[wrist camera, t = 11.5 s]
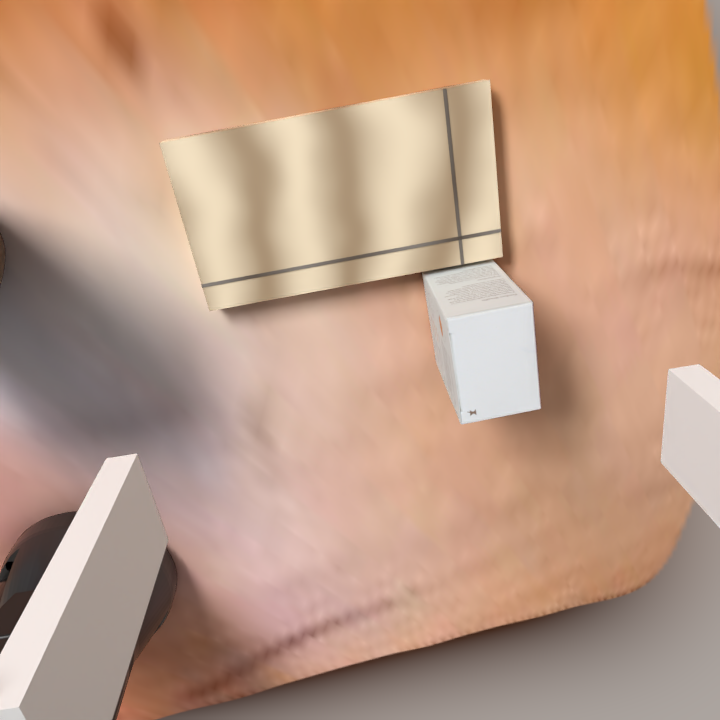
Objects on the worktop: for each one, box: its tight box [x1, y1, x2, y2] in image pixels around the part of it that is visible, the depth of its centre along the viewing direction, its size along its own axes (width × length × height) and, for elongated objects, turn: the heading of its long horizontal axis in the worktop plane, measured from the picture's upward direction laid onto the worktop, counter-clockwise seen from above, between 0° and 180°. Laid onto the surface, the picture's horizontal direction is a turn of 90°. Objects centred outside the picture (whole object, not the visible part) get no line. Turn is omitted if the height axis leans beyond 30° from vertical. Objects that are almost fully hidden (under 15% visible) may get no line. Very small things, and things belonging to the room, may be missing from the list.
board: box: [160, 80, 503, 311], centre depth 43 cm, size 22×12×2 cm, turn 100°
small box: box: [422, 259, 541, 424], centre depth 44 cm, size 8×6×10 cm
